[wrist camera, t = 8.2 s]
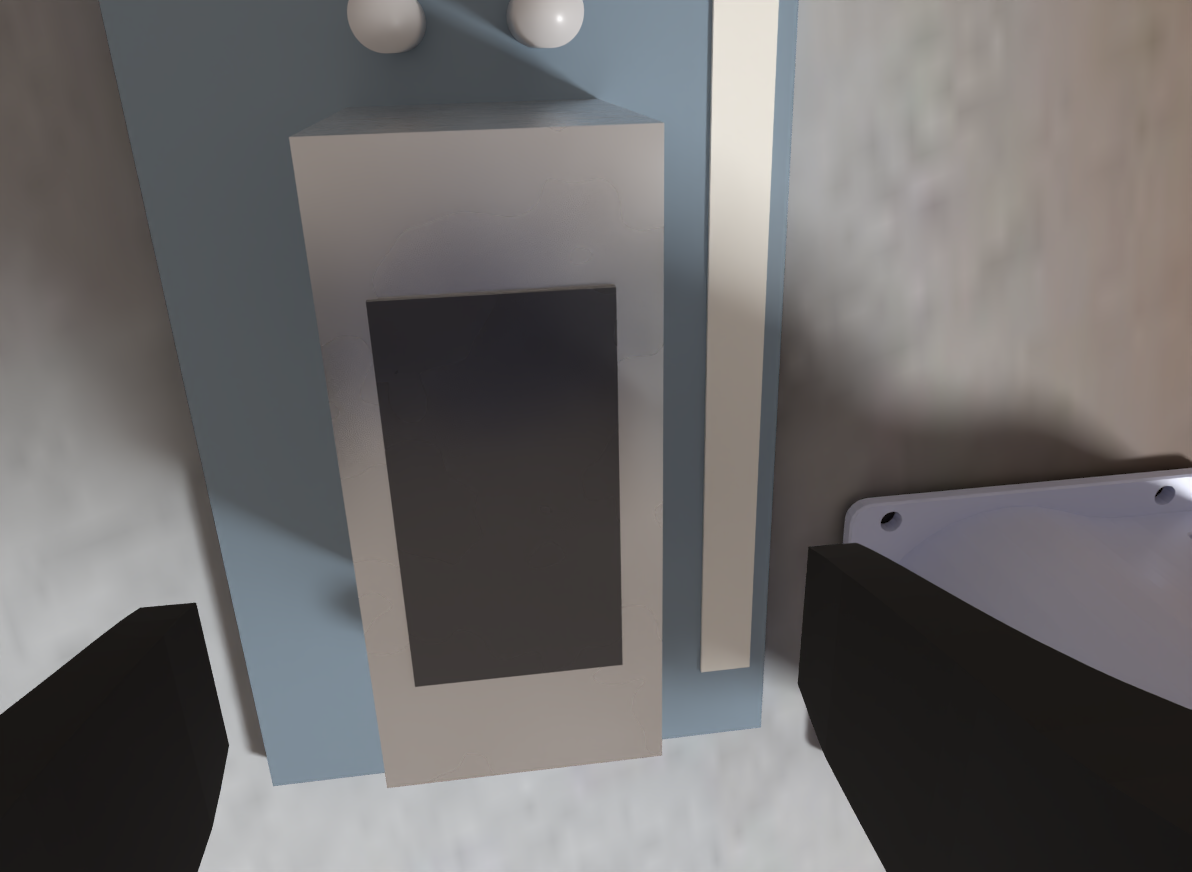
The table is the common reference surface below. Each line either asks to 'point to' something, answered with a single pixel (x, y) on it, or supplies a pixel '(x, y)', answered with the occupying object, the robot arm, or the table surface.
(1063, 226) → the table surface
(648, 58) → the dock
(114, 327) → the table surface
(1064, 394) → the table surface
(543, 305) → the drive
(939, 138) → the table surface
